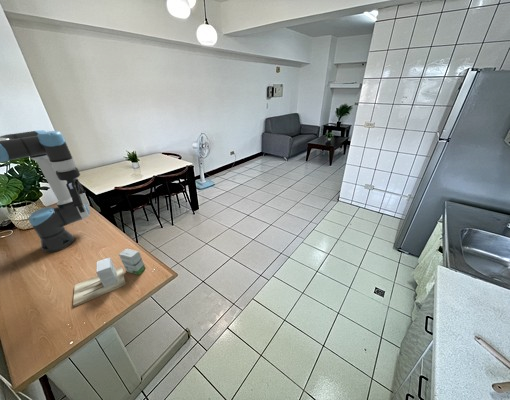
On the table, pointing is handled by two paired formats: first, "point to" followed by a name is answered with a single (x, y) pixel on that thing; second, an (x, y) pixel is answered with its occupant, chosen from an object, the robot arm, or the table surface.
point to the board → (95, 288)
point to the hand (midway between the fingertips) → (86, 211)
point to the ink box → (132, 261)
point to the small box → (106, 272)
